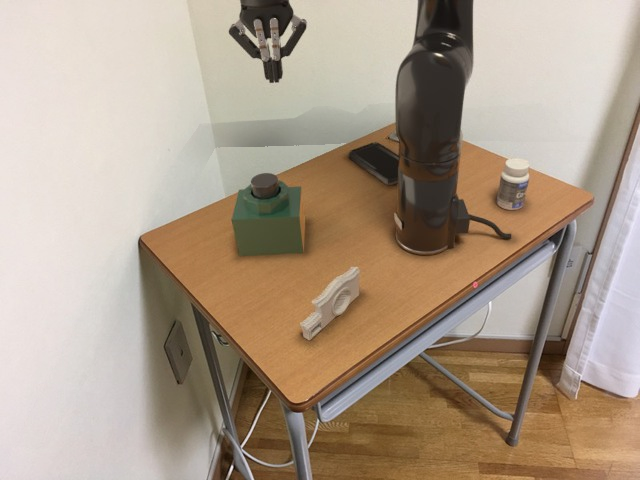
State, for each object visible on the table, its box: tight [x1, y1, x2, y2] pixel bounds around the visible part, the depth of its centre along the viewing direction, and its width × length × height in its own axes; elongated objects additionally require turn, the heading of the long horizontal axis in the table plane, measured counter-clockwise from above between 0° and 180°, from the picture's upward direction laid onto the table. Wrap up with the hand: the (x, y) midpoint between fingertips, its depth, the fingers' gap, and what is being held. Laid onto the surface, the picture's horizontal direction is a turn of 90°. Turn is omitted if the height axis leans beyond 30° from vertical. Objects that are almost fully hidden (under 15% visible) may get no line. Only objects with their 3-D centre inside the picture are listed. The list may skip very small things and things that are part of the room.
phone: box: [348, 142, 399, 186], centre depth 108 cm, size 8×1×15 cm
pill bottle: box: [496, 157, 531, 211], centre depth 92 cm, size 5×5×8 cm
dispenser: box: [231, 179, 306, 257], centre depth 88 cm, size 11×9×10 cm
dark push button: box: [250, 172, 279, 200], centre depth 85 cm, size 4×4×2 cm
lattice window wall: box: [299, 266, 361, 341], centre depth 74 cm, size 12×2×6 cm, turn 139°
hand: (274, 81), depth 88 cm, fingers closed
